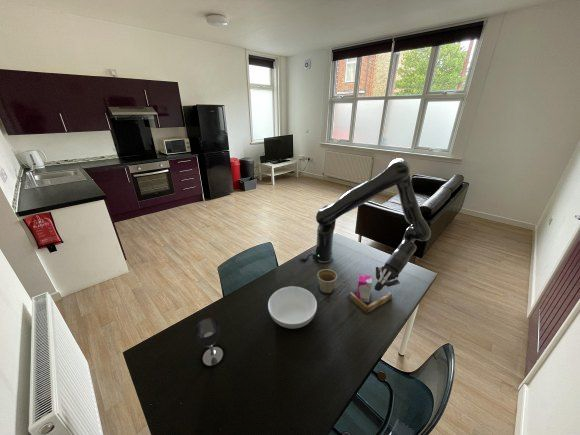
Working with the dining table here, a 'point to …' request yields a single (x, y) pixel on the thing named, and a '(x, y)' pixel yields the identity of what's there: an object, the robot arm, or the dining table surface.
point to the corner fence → (372, 305)
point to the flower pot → (326, 280)
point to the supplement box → (364, 287)
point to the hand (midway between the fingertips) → (376, 290)
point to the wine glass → (209, 340)
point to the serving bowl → (292, 307)
